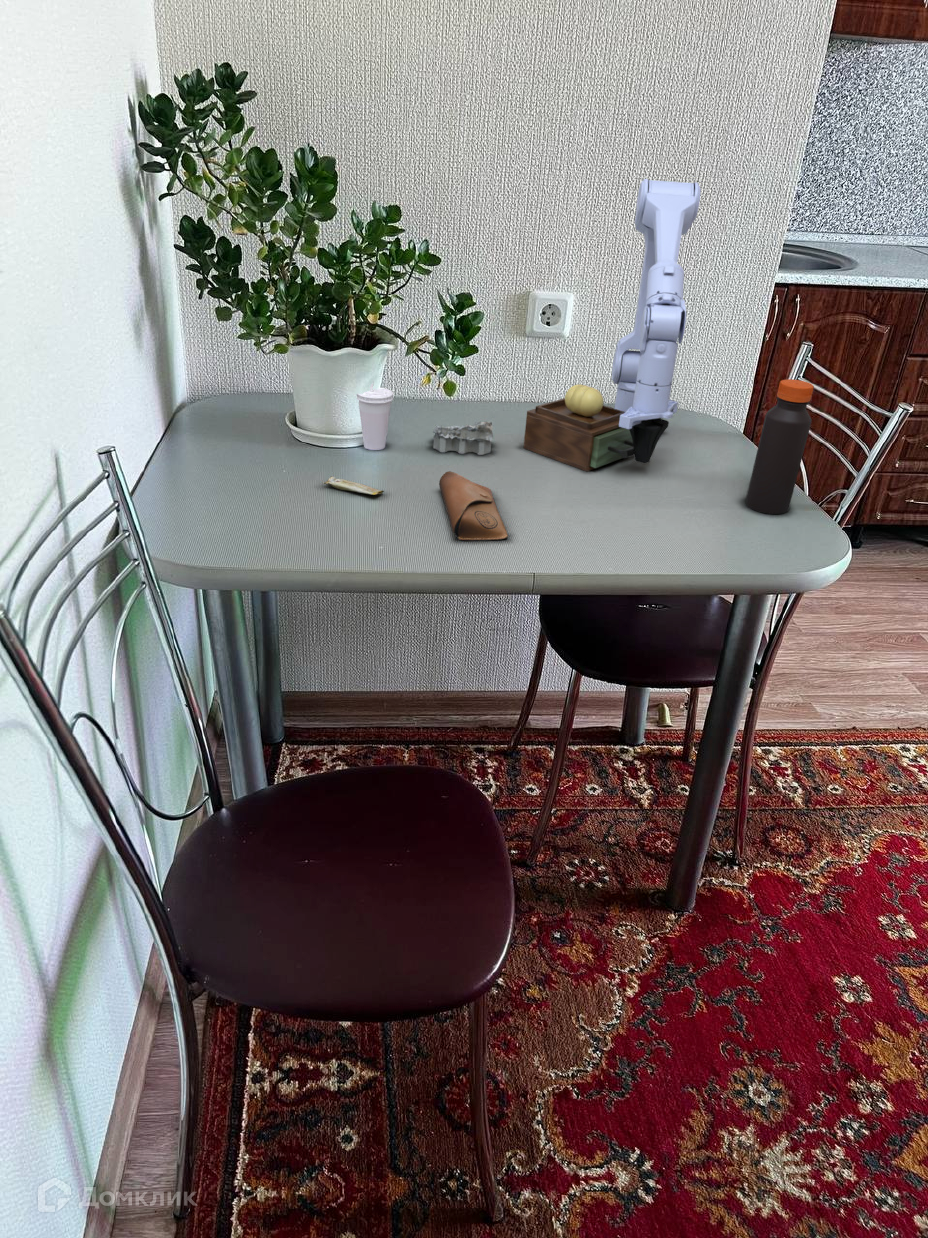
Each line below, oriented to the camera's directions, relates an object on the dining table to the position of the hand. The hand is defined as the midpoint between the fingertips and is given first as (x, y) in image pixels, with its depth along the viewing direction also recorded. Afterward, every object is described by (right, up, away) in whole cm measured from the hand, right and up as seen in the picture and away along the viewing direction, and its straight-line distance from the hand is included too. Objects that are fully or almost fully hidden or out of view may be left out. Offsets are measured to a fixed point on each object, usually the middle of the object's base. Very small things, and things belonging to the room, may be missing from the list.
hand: (641, 461), depth 153 cm
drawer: (-7, +3, +6) cm, 10 cm away
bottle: (+19, -9, -8) cm, 22 cm away
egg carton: (-31, +4, +8) cm, 32 cm away
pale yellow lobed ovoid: (-10, +9, +6) cm, 14 cm away
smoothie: (-46, +3, +6) cm, 46 cm away
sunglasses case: (-29, -11, -17) cm, 36 cm away
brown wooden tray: (-10, +9, +6) cm, 14 cm away
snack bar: (-48, -7, -12) cm, 50 cm away
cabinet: (-10, +3, +9) cm, 14 cm away
